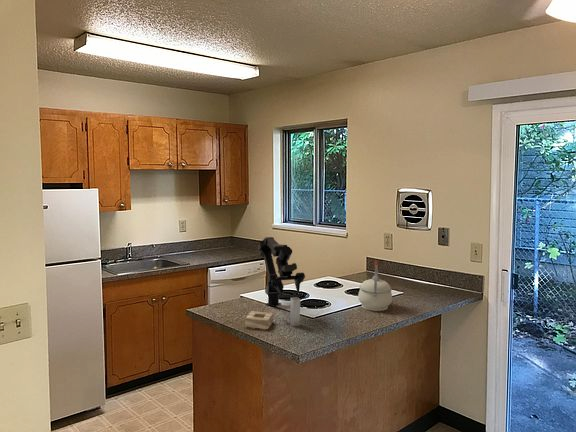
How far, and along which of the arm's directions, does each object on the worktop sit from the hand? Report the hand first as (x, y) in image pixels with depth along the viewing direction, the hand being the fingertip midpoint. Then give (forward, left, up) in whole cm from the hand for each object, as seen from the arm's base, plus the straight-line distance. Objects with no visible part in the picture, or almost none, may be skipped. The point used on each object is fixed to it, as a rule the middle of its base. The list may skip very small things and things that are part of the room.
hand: (289, 293), depth 232 cm
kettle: (-45, +30, -14) cm, 56 cm away
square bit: (+5, +6, -13) cm, 16 cm away
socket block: (+14, -9, -13) cm, 22 cm away
